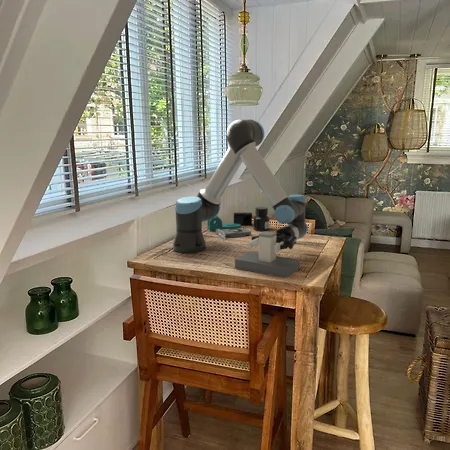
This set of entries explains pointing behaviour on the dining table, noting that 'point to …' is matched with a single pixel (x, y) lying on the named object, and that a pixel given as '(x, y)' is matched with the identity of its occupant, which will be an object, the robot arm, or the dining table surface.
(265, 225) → the ink bottle
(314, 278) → the dining table surface
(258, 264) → the plate with square hole
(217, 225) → the bracket
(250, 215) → the digital camera
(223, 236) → the graphics card
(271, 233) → the plug
